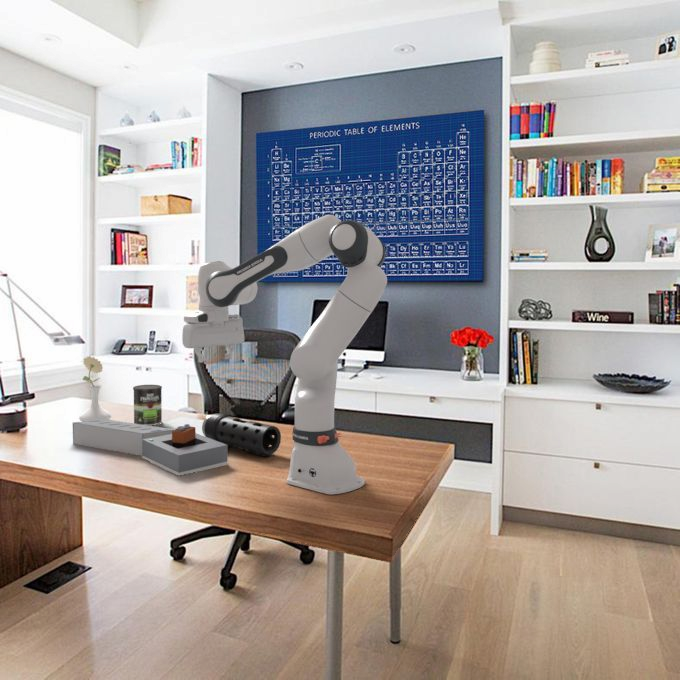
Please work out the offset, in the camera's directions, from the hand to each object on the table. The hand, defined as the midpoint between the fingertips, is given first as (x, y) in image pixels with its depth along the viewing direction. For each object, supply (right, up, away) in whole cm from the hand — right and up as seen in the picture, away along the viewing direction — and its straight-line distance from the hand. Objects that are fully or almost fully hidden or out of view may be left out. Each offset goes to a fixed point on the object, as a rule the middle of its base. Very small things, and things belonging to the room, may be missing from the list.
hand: (215, 360), depth 179 cm
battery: (-9, -30, -3) cm, 31 cm away
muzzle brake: (+6, -30, +11) cm, 32 cm away
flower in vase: (-56, -25, +46) cm, 77 cm away
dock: (-9, -30, -3) cm, 32 cm away
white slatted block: (-34, -29, +15) cm, 47 cm away
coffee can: (-35, -26, +44) cm, 62 cm away
